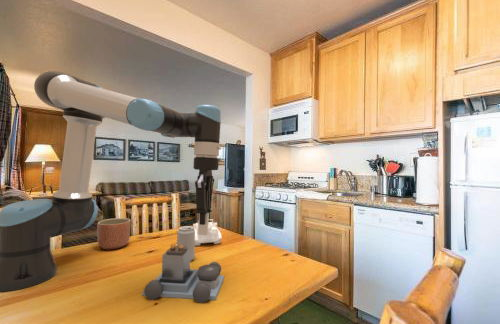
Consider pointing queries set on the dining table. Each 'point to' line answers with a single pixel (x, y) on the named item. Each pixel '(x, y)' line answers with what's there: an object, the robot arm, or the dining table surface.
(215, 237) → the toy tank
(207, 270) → the spare wheel
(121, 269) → the dining table surface
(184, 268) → the twin lamp box
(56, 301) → the dining table surface
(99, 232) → the planter
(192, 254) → the beverage can
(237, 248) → the dining table surface
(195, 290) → the chassis
